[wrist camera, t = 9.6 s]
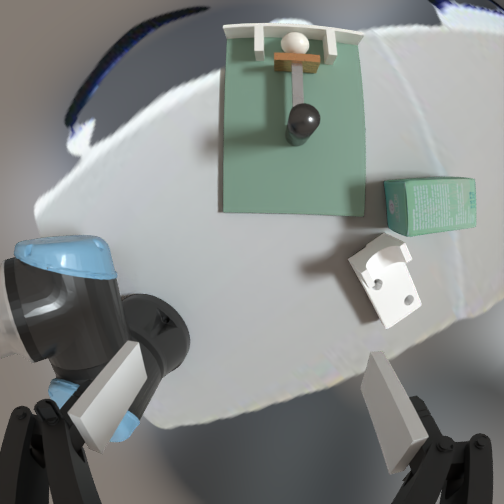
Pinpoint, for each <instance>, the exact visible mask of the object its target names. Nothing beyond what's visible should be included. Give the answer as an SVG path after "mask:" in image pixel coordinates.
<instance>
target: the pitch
mask: <svg viewBox="0 0 504 504" xmlns="http://www.w3.org/2000/svg"><path fill="white" fill-rule="evenodd" d="M223 29H224V32H225V35H226V38H227V49H226V72H225V102H224V156H223V212H239V213H289V214H318V215H340V216H358V217H364V206H365V176H366V145H365V116H364V100H363V87H362V77H361V68H360V59H359V52H358V44H359V42H360V41H361V39H362V38H363V36H364V34H363V33H362V32H357V31H352V30H346V29H339V28H332V27H324V26H315V25H303V24H284V23H251V24H231V25H223ZM290 32H298V33H301V34H303V35H304V36H305V37H306V38H307V39H308V41H309V49H308V51H307V52H306V53H305V54H314V55H320V65H319V67H318V70H317V72H316V73H306V72H303V93H304V103H306V104H310V105H312V106H314V107H315V108H316V109H317V110H318V112H319V114H320V118H321V120H320V124H319V126H318V127H317V129H316V130H315V131H314V132H313V134H312V135H311V136H310V138H309V139H308V140H307V142H306V143H305V144H303V145H301V146H293V145H291V144H289V143H288V142H287V140H286V138H285V131H286V127H287V122H288V118H289V114H290V111H291V109H292V80H291V72H287V71H274V52H275V53H285V52H284V51H283V49H282V47H281V40H282V38H283V37H284V36H285V35H286V34H287V33H290Z"/></svg>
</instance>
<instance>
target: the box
mask: <svg viewBox="0 0 504 504" xmlns="http://www.w3.org/2000/svg"><path fill="white" fill-rule="evenodd" d="M384 187H385V196H386V206H387V221H388V227H389V229H391V230H393V231H394V232H397V233H399V234H401V235H404V236H409V237H412V236H417V235H423V234H430V233H437V232H445V231H452V230H460V229H468V228H473V227H476V188H475V179H471V178H464V177H428V178H411V179H398V180H387V181H384Z"/></svg>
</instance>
